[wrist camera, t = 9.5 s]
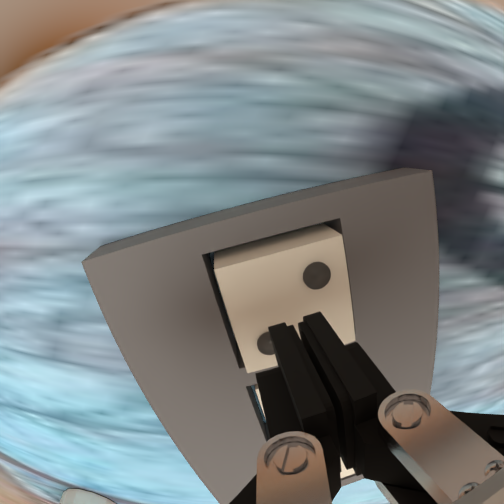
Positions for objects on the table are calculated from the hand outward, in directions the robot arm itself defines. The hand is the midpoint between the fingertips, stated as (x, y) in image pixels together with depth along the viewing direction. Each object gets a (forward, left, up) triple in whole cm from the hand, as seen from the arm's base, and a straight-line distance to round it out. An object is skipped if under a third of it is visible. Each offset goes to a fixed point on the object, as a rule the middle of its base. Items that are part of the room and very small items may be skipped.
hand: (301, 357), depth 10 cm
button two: (0, 0, -5) cm, 5 cm away
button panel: (0, +7, -7) cm, 10 cm away
